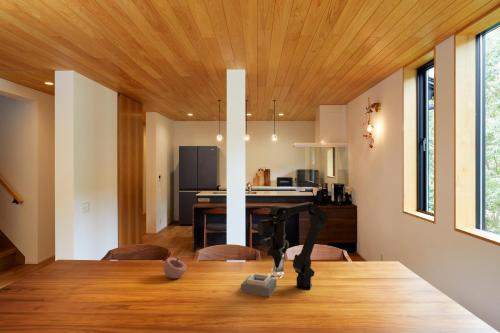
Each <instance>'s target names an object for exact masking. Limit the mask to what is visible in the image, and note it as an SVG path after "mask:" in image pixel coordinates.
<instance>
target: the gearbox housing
mask: <svg viewBox="0 0 500 333" xmlns="http://www.w3.org/2000/svg"><path fill="white" fill-rule="evenodd" d="M271 277H272V275H268V274H263V273H256V272H253V273H252V274H250V275H249V276H248V277H247V278H245V280H243V281H242V282H241V284H240V291H241V294H247V293H248V294H247V295H253V294H254V295H253V296H259V295H262V296H261V297H266V296H268V297H267V298H270V297H271V296H272V294H273V293H274V292H275V290H276V288H277V279H273V278H274V277H272V278H271ZM274 289H275V290H274ZM272 292H273V293H272ZM270 295H271V296H270Z"/></svg>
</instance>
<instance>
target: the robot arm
mask: <svg viewBox="0 0 500 333" xmlns="http://www.w3.org/2000/svg"><path fill="white" fill-rule="evenodd" d="M304 212H307V214H308V215H309V224H310V225H309V229H308V231H307V233H306V234H307V235H306V237H305V240H304V243H303V245H302V249H301V251H300V252H299V254H295V255H294V257H293V260H292V267H293V270H294V271H295V273H296V274H297V276H296V288H297V289H301V290H306V291H307V290H308V291H310V290H311V288H312V287H313V283H312V278H313V277H314V276H315V270H313V269H312V268H311V267H312V260H311V259H312V257H311V256H312V253H313V250H314V247H315V244H316V241H317V240H318V239H317V238H318V236H319V233H320V230H321V229H322V228H323V227H324V226H325V225H326V223H327V220H328V217H329V216H328V213H327V212H326V211H324V210H323V209H321V208H320V207H318V206H317V205H316V204H315V203H314V202H310V201H305V202H301V203H297V204H291V205H290V204H289V205H273V206H271V210H270V211H269V213H268V214H267V216H266V218H265V219H259V222H258V224H257V226H256V231H257V234H258V235H259V236H267V235H270V237H266V238H263V239H261V240H260V241H259V243H260V244H259V245H260V247H262V249H263V248H264V249H265V248H266V247H269V249H267V250H266V256H269V257H272V260H273V259H274V263H275V266H276V268H278V267H279V264H280V262H281V259H282V256H283V254H282V252H283V253H284V256H286V253H287V250H288V248H289V247H290V242H289V241H288V240H286V237H287V234H286V232H285V228H286V224H288V223H290V221H289V220H288V219H287V218H289V217H290V216H291V215H295V214H300V213H304ZM285 246H286V247H285Z"/></svg>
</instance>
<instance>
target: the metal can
mask: <svg viewBox="0 0 500 333" xmlns="http://www.w3.org/2000/svg"><path fill="white" fill-rule="evenodd" d="M282 254H283V256H282V259H281V262H280V264H279V267H278V268H276V266H275V263H274V259H273V258H272V260H273V261H272V269H273V271H275V272H284V271H285V255H284V253H283V252H282Z"/></svg>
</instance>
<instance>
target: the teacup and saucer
mask: <svg viewBox="0 0 500 333" xmlns="http://www.w3.org/2000/svg"><path fill="white" fill-rule="evenodd" d="M270 274H271V277H272V278H273V279H276V280H278V278H279V277H280V276H281V277H280V278H279V279H281V278H283V276H284V274H285V272H284V271H283V272H275V271H273V268H272V269H271V270H270V272H269V273H268V274H267V275H270ZM273 276H274V277H273Z"/></svg>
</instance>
